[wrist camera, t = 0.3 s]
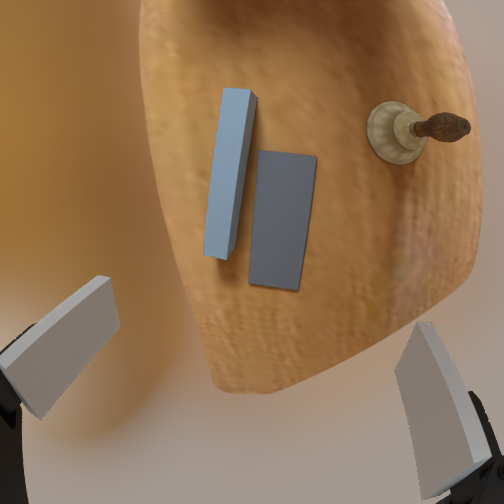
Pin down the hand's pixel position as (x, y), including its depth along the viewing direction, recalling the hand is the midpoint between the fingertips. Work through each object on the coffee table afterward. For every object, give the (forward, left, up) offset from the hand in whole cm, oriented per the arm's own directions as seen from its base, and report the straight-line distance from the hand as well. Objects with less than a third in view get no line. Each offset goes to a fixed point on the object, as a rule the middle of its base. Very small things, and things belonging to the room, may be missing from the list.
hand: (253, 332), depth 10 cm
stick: (-3, -7, -26) cm, 27 cm away
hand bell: (-11, +13, -26) cm, 31 cm away
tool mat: (+3, -1, -26) cm, 26 cm away
